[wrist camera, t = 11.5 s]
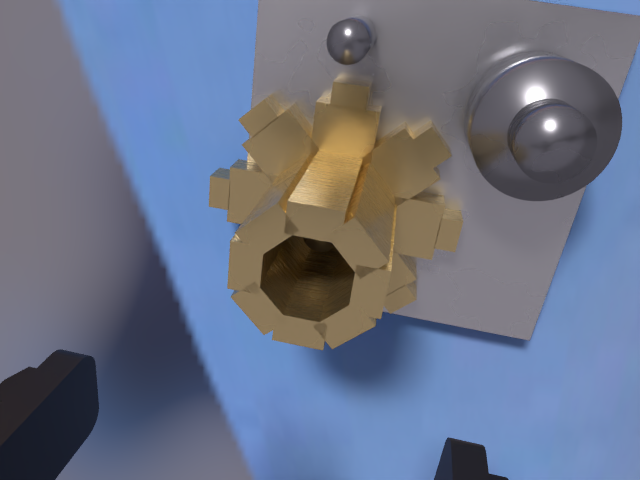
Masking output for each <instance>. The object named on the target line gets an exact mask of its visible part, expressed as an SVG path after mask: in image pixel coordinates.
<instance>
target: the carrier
mask: <svg viewBox="0 0 640 480" xmlns="http://www.w3.org/2000/svg"><path fill="white" fill-rule="evenodd" d="M639 41H640V16H637V15H630V14H623V13H616V12H609V11H602V10H595V9H587V8H580V7H573V6H566V5H559V4H552V3H545V2H538V1H530V0H259V3H258V17H257V31H256V45H255V59H254V74H253V88H252V102H251V109H252V108H254V107H255V106H256V105H257V104H259V103H260V102H261V101H262V100H264V99H265V98H266V97H268V96H269V95H271V94H272V95H273V96H274V98H275V99H276V100H277V102H278V103H279V104H280V106H281V107H282V108H283V109H284V111H285V110H286V109H287V108H289V107H290V106H291V105H293V104H294V103H295V104H296V105H297V107H298V108H299V109H300V111H301V112H302V114H303V115H304V116H305V118H306V119H307V120H308V122H309V123H310V124H311V126H312V127H313V121H314V113H315V105H316V101H317V100H318V99H319V98H320V97H321V96H322V97H328V98H331V92H332V85H333V81H334V80H335V79H336V78H337V77H340V78H346V79H352V80H359V81H365V82H371V83H372V85H371V91H370V97H369V103H368V104H371V105H377V106H382V108H381V113H380V119H379V125H378V130H377V136H376V141H378V140H379V139H381V138H382V137H384V136H385V135H386V134H388V133H389V132H391V131H392V130H394V129H395V128H397V127H398V126H399V125H401V124H402V123H404V122H405V121H406V123H407V124H408V126H409V127H410V128H411V130H412V131H413V132H414V131H416V130H417V129H419V128H420V127H422V126H423V125H425V124H426V123H428V122H429V121H432V122H433V124H434V125H435V127H436V128H437V130H438V131H439V132H440V134H441V135H442V137H443V138H444V140H445V141H446V143H447V144H448V146H449V147H450V150H451V154H452V156H451V157H450V158H448V159H447V160H445V161H444V162H442V163H441V164H439V165H437V168H438V169H439V171H440V180H439V181H437V182H436V183H434V184H432V185H431V186H429V187H428V188H426V189H424V190H423V191H421V192H426V193H432V194H438V195H443V196H444V199H445V208H446V209H452V210H457V211H461V213H462V218H463V225H462V229H461V232H460V236H459V240H458V244H457V247H456V251H455V252H450V251H445V250H440V249H435V250H434V254H433V258H432V260H429V259H424V258H418V257H413V256H409V257H410V259H411V260H412V261H413V263H414V264H415V265H416V267H417V279H416V280H415V281H413V282H414V283H415V285H416V286H417V300H415V301H413V302H412V303H410V304H408V305H406V306H404V307H402V308H400V309H399V310H397V311H395V312H393V314H398V315H403V316H408V317H413V318H418V319H423V320H428V321H433V322H438V323H443V324H448V325H453V326H458V327H463V328H469V329H474V330H479V331H484V332H489V333H494V334H499V335H504V336H509V337H514V338H519V339H524V340H529V341H530V338H531V336H532V333H533V330H534V327H535V325H536V322H537V319H538V316H539V314H540V311H541V308H542V306H543V303H544V300H545V297H546V295H547V292H548V289H549V286H550V284H551V281H552V278H553V276H554V273H555V270H556V267H557V265H558V262H559V259H560V256H561V254H562V251H563V248H564V245H565V243H566V240H567V237H568V235H569V232H570V229H571V226H572V224H573V221H574V218H575V215H576V213H577V210H578V207H579V205H580V202H581V199H582V196H583V194H584V191H585V188H586V185H588V184H589V183H590V182H592V181H593V180H594V179H595V178H596V177H597V176H598V175H599V174H600V173H601V172H602V171H603V170H604V169H605V167H606V166H607V165H608V163H609V162H610V160H611V159H612V157H613V155H614V153H615V151H616V149H617V147H618V143H619V140H620V136H621V130H622V114H621V108H620V104H619V101H618V98H619V95H620V93H621V90H622V87H623V84H624V82H625V79H626V76H627V73H628V71H629V68H630V65H631V63H632V60H633V57H634V54H635V52H636V49H637V46H638V43H639ZM250 137H251V135H250V134H249V138H250ZM247 161H251V162H255V161H254V159H253V158H252V157H251V156H250V154H249V153H248V158H247ZM303 240H304V242H305V243H306V245H307V246H308V247H309V248H311V249H312V250H315V251H318V252H326V251H329V250H331V249H332V248H334V247H335V246H334V245H333V244H332V242H326V241H321V240H316V239H310V238H305V237H303ZM383 312H387V313H389V312H388V310H387V309H386V308H385V307H383Z"/></svg>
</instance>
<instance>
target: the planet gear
mask: <svg viewBox="0 0 640 480" xmlns="http://www.w3.org/2000/svg"><path fill="white" fill-rule="evenodd" d="M371 85H372V83H371V82H365V81H359V80H352V79H346V78H340V77H337V78H336V79H335V80H334V81H333V85H332V92H331V98H328V97H322V96H321V97H320V98H319V99H318V100H317V101H316V105H315V113H314V121H313V127H312V126H311V124H310V123H309V122H308V120H307V119H306V118H305V116H304V115H303V114H302V112H301V111H300V109H299V108H298V107H297V105H296V104H295V103H294V104H293V105H291V106H290V107H289V108H287V109H286V110H285V111H284V109H283V108H282V107H281V106H280V104H279V103H278V102H277V100H276V99H275V98H274V96H273V95H272V94H271V95H269V96H268V97H266V98H265V99H264V100H262V101H261V102H260V103H259V104H257V105H256V106H255V107H254V108H252V109H251V110H250V111H249V112H248V113H246V114H245V115H244V116H243V117H241V118H240V119H239V121H240V123H241V124H242V125H243V126H244V128H245V129H246V130H247V132H248V133H249V134H250V135H251V137H250V138H249V139H248V140H247V141H246V142H244V143H243V144H242V146H243V147H244V148H245V149H246V151H247V152H248V153H249V154H250V156H251V157H252V158H253V159H254V161H255V162H251V161H246V160H240V159H238V160H237V161H236V162H235V163H234V164H233V165H232V166H231V167H230V170H229V169H223V168H219V169H218V170H217V171H215V172H214V173H213V174H212V175H211V176H210V192H209V207H214V208H220V209H225V210H228V214H227V222H232V223H238V224H241V225H240V226H239V228H238V229H237V230H236V232H235V235H234V236H233V238H232V239H231V240H230V255H229V271H228V287H227V288H228V289H233V290H234V292H233V294H232V295H231V298H232V299H233V300H234V301H235V303H236V304H237V305H238V306H239V307H240V308H241V309H242V311H243V312H244V313H245V314H246V315H247V316H248V317H249V319H250V320H251V321H252V322H253V323H254V324H255V325H256V327H257V328H258V329H259V330H260V331H261V332H262V333H263V335H265V334H267V333H269V332H270V331H272V330H273V337H272V340H275V341H280V342H285V343H290V344H295V345H299V346H304V347H309V348H314V349H319V350H323V349H324V345H325V341H326V342H327V344H328V345H329V346H330V347H331V348H332V349H334V348H336V347H337V346H339V345H341V344H343V343H345V342H347V341H349V340H351V339H352V338H354V337H356V336H358V335H360V334H362V333H364V332H365V331H367V330H369V329H371V328H373V327H375V326H376V318H377V319H381V317H382V312H383V307H385V308H386V309H387V310H388V312H389V313H390V314H391V313H393V312H395V311H397V310H399V309H400V308H402V307H404V306H406V305H408V304H410V303H412V302H413V301H415V300H417V286H416V285H415V283H414V282H413V281H415V280H416V279H417V267H416V265H415V264H414V263H413V261H412V260H411V259H410V257H409V256H413V257H418V258H424V259H429V260H432V258H433V254H434V250H435V249H440V250H445V251H450V252H455V251H456V247H457V244H458V240H459V236H460V232H461V229H462V225H463V218H462V213H461V211H457V210H452V209H446V208H445V199H444V196H443V195H438V194H432V193H426V192H421V191H423V190H424V189H426V188H428V187H429V186H431V185H432V184H434V183H436V182H437V181H439V180H440V171H439V169H438V168H437V165H439V164H441V163H442V162H444V161H445V160H447V159H448V158H450V157H451V156H452V154H451V150H450V147H449V146H448V144H447V143H446V141H445V140H444V138H443V137H442V135H441V134H440V132H439V131H438V130H437V128H436V127H435V125H434V124H433V122H432V121H429V122H428V123H426V124H425V125H423V126H422V127H420V128H419V129H417V130H416V131H414V132H413V131H412V130H411V128H410V127H409V126H408V124H407V123H406V121H405V122H404V123H402V124H401V125H399V126H398V127H397V128H395V129H394V130H392V131H391V132H389V133H388V134H386V135H385V136H384V137H382V138H381V139H379V140H378V141H376V136H377V130H378V125H379V119H380V113H381V108H382V106H377V105H371V104H368V103H369V97H370V91H371ZM303 237H305V238H310V239H316V240H321V241H326V242H332V244H333V245H334V246H335V247H334V248H332V249H331V250H329V251H326V252H318V251H315V250H312V249H311V248H309V247H308V246H307V245H306V243H305V242H304V240H303Z"/></svg>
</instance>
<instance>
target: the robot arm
mask: <svg viewBox="0 0 640 480" xmlns="http://www.w3.org/2000/svg"><path fill="white" fill-rule="evenodd" d="M98 411H99V402H98V389H97V377H96V365H95V360H94V358H93V357H91V356H88V355H84V354H79V353H74V352H70V351H66V350H56V351H55V352H53V353H52V354H51V355H50V356H49V357H48V358H47V359H46V360H45V361H44V362H43V363H42V364H41V365H40V366H39V367H38V368H32V367H28V368H26V369H24V370H22V371H20V372H18V373H17V374H14V375H13V376H11V377H9V378H7V379H5V380H4V381H3V382H2V383H1V384H0V480H55V479H56V478H57V476H58V475H59V474H60V472H61V471H62V470H63V469H64V467H65V466H66V465H67V463H68V462H69V461H70V459H71V458H72V457H73V456H74V454H75V453H76V452H77V450H78V449H79V448H80V446H81V445H82V444H83V442H84V441H85V440H86V439H87V437H88V436H89V434H90V433H91V431H92V430H93V427H94V425H95V423H96V420H97V416H98ZM434 480H508V478H506V477H502V476H497V475H493V474H489V472H488V465H487V457H486V450H485V447H484V446H483V445H480V444H475V443H471V442H466V441H462V440H458V439H453V438H447V440H446V442H445V445H444V448H443V452H442V455H441V458H440V462H439V465H438V468H437V471H436V475H435V478H434Z"/></svg>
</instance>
